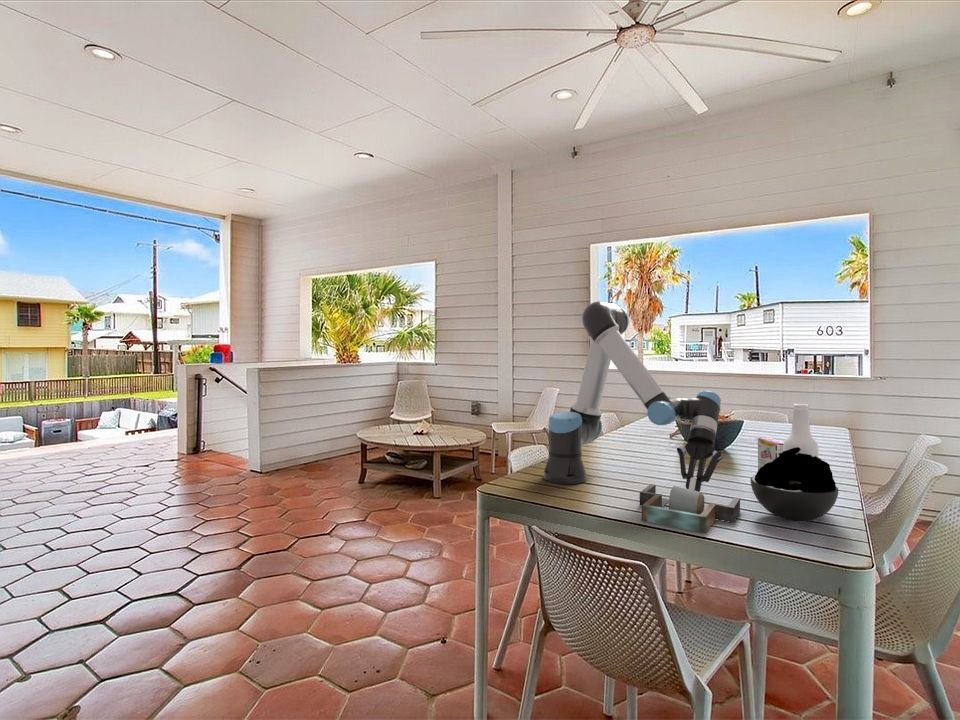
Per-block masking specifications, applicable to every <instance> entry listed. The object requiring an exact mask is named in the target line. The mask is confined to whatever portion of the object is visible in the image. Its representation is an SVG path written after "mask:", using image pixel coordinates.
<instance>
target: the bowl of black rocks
mask: <svg viewBox="0 0 960 720" xmlns="http://www.w3.org/2000/svg"><path fill="white" fill-rule="evenodd" d="M800 450H801V449H800V448H799V447H796V448H792V449H789V450H787V451H783V452H782V453H779V455H780V456H779V457H777V458H775V459H774V460H773V461H772V462H769V463H766V464H764V466H762V467H761V468H760V469H759V470H758V469H757V472H756V473H755V475H753V476H751V477H750V486H751V489H752V492H753V494H754V496H755V498H756V500H757V502H759V504H760V505H761V506H762V507H763V508H764V509H765V510H766V511H768V512H769V513H771V514H772V515H774V516H776V517H778V518H779V519H783V520H786V521H791V522H797V523H799V522H800V523H805V522H810V521H815V520H817V519H820V518H821V517H823V516H825V515H826V514H828V513H829V511H831V509H833V507H834V505H835V504H836V501H837V499H838V496H839V488H838V487H837V486H836V481H835V479H834V476H833V470H832V469H831V465H830V464H829V463H828V462H827V461H825V460H823V459H821V458H820V457H819V456H818V457H816V456H814V457H812V456H811V455H809V454H801V453H798V452H799V451H800ZM796 453H797V454H796Z"/></svg>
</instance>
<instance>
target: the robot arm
mask: <svg viewBox="0 0 960 720" xmlns="http://www.w3.org/2000/svg"><path fill="white" fill-rule="evenodd" d="M581 318H582V319H581V321H582V325H583V327H584V329H585V331H586V332H587V335H588V336H587V337H588V339H589V340H590V345H589V348H588V351H587V352H588V353H587V355H586V356H587V357H586V360H585V361H586V362H585V365H584V368H583V373H582V377H581V382H580V386H579V389H578V394H577V397H576V402H575V403H572V404H571V406H570V410H569V411H562V412H556V413H554V414H552V415H550V416H549V418H548V426H547V428H548V458H547V461H546V464H545V467H544V470H543V479H544V480H545V481H546V482H549V483H554V484H559V485H560V484H562V485H575V484H576V485H577V484H581V483H585V482H586V481H587V471H586V468H585V465H584V461H583V459H582V455H583V453H582V452H583V451H582V450H583V448H582V446H583V445H587V444H590V443H593V442H594V441H595V440H597V439H598V438H599V436H601V433H602V430H603V424H602V421H601V418H602V411H601V409H600V404H601V401H602V396H603V393H604V389H605V384H606V381H607V377H608V372H609V370H610V369H609V368H610V364H611V362H612V364H614V366H615V367H616V369H617V370H618V371H619V373H620V374H621V376H622V378H624V380H625V381H626V383H627V384H628V385H629V386H630V388H631V389H632V391H633V393H635V395H636V396H637V398H638V399H639V400H640V401H641V404H642V405H643V407H645V409H646V411H647V412H646V413H647V417H648V420H649V421H650V422H651V423H652V424H654V425H656V426H664V425H665V426H667V425H670V424H672V423H674V422H676V421H691V423H690V427H689V428H690V429H689V433H688V438H687V443H686V444H685V446H684V447H682V448H681V447H677V448H676V452H677V454H678V457H679V464H680V467H679V468H680V474H681V477H682V478H681V479H683V480H685V488H686V489H689V490H694V491H698V492H700V491H701V488H702V483H705V482H706V483H709V482H710V480H711V478H712V475H713V474H714V471H715V470H716V467H717V466H718V463H719V462H720V461H721V460H722V459H723V455H722V452H721V451H717V450H716V448H715V443H716V442H715V441H716V435H717V429H718V424H719V423H718V422H719V417H720V413H721V403H722V401H721V397H720V396H719V394H718V393H716V392H714V391H711V390H703V391H699V392H698V393H697V395H696V396H695V397H670V396H668V395H667V394H666V393H665V391H664V390H663V388H662V386H660V385H659V383H658V382H657V381H656V379H655V378H654V377H653V375H652V374H651V373H650V371H649V370H648V368H647V367H646V366H645V365H644V363H643V362H642V361H641V359H640V358H639V356H638V355H637V353H635V351H634V350H633V348H632V347H631V346H630V345H629V343H628V342H627V341H626V339H625V338H624V337H623V334H624V333H625V332H626V331H627V329H628V327H629V324H630V318H629V314H628V313H627V311H626V309H625V308H623V307H622V306H620V305H618V304H615V303H610V302H605V301H600V300H598V301H594V302H591V303H590V304H588V305H587V306H586V307H585V309H584V311H583V312H582V317H581ZM686 454H688V456H689V457H690V458H689V464H688V469H687V468H686V459H685V456H686ZM711 456H712V457H711ZM710 457H711V459H710V461H709V464H708V465H707V468H705V467H706V461H707V460H708V459H709V458H710ZM697 461H698V466H697V471H696V475H695V470H696V465H697ZM694 475H695V476H696V477H694ZM700 493H701V492H700Z"/></svg>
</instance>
